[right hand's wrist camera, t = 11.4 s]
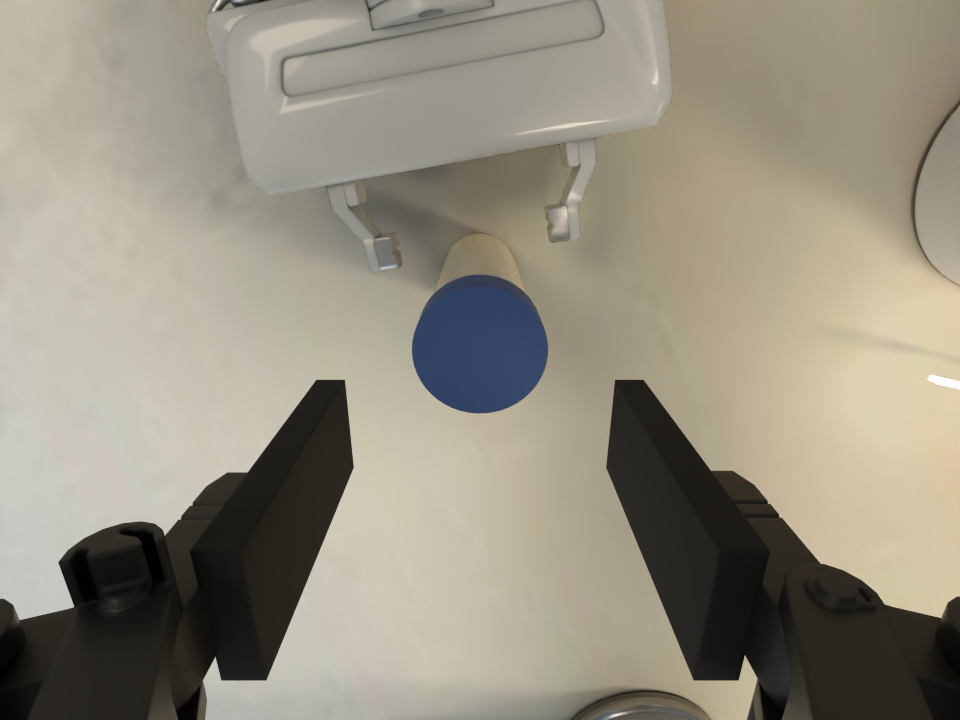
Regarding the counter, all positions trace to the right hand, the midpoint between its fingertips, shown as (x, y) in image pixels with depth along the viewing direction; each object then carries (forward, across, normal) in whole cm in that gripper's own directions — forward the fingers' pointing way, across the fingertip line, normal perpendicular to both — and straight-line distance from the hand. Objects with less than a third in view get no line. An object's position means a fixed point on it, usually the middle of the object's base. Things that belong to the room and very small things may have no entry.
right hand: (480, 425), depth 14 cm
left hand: (+15, 0, +2) cm, 15 cm away
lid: (+6, 0, 0) cm, 6 cm away
